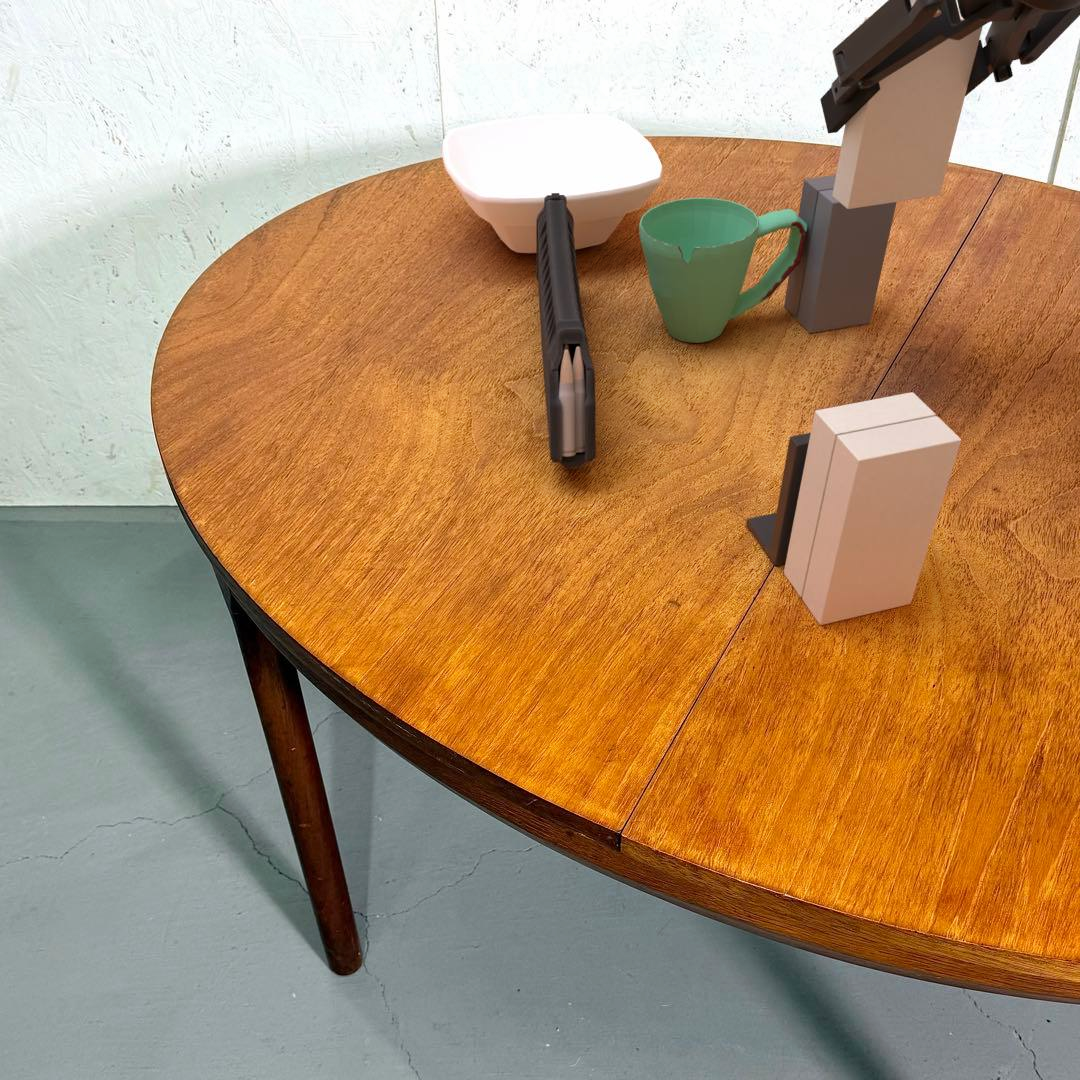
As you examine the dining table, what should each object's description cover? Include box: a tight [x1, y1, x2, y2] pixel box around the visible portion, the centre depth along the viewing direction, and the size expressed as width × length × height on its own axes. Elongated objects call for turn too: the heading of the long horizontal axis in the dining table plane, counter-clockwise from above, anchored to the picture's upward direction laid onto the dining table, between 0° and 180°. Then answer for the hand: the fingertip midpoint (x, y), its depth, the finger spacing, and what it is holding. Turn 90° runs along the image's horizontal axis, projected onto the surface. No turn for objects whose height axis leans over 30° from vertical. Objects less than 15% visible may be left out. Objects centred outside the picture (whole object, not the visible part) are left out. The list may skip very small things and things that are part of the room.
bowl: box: [441, 113, 664, 254], centre depth 106 cm, size 21×21×9 cm
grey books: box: [783, 174, 898, 334], centre depth 92 cm, size 6×5×12 cm
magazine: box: [535, 193, 597, 469], centre depth 86 cm, size 17×3×30 cm
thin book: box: [832, 7, 984, 209], centre depth 78 cm, size 8×2×13 cm, turn 106°
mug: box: [638, 197, 807, 344], centre depth 91 cm, size 15×10×10 cm
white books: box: [745, 391, 962, 626], centre depth 67 cm, size 7×10×13 cm
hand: (880, 109), depth 81 cm, fingers closed on thin book, 8 cm apart
